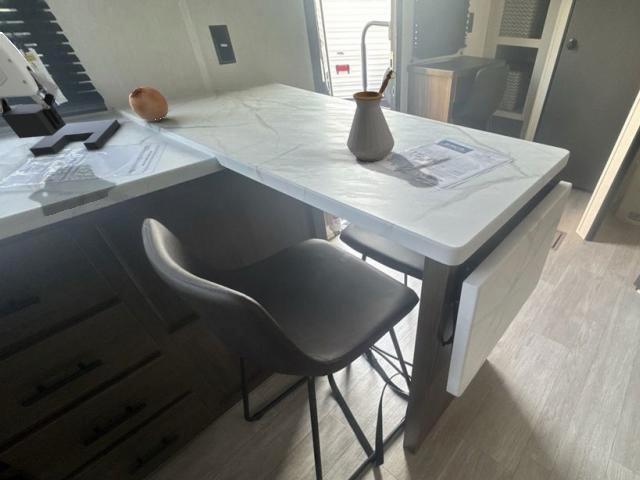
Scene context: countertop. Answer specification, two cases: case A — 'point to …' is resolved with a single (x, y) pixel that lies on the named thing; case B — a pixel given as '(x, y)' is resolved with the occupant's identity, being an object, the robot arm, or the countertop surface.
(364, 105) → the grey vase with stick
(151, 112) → the onion
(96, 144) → the notched block
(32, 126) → the black angular block
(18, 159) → the countertop surface
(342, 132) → the countertop surface
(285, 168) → the countertop surface
